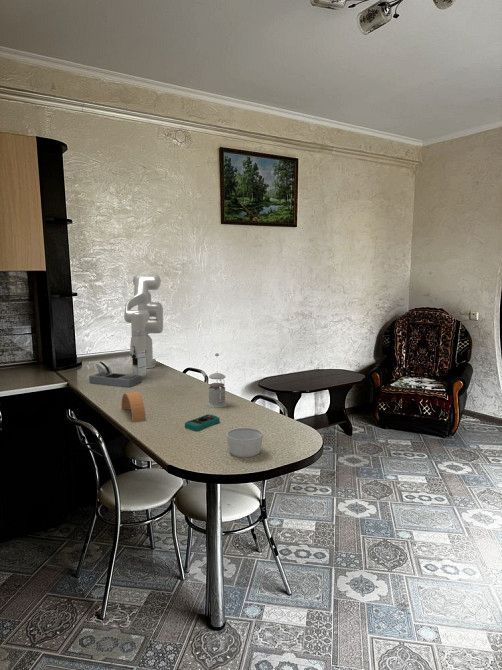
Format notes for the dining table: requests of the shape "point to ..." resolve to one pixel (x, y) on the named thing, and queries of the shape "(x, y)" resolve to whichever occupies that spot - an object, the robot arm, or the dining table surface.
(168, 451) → the dining table surface
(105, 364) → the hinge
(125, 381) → the gray compartment tray
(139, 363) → the syrup box
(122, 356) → the dining table surface
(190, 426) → the digital multimeter
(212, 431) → the dining table surface
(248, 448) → the ramekin
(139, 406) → the arch
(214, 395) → the french press
